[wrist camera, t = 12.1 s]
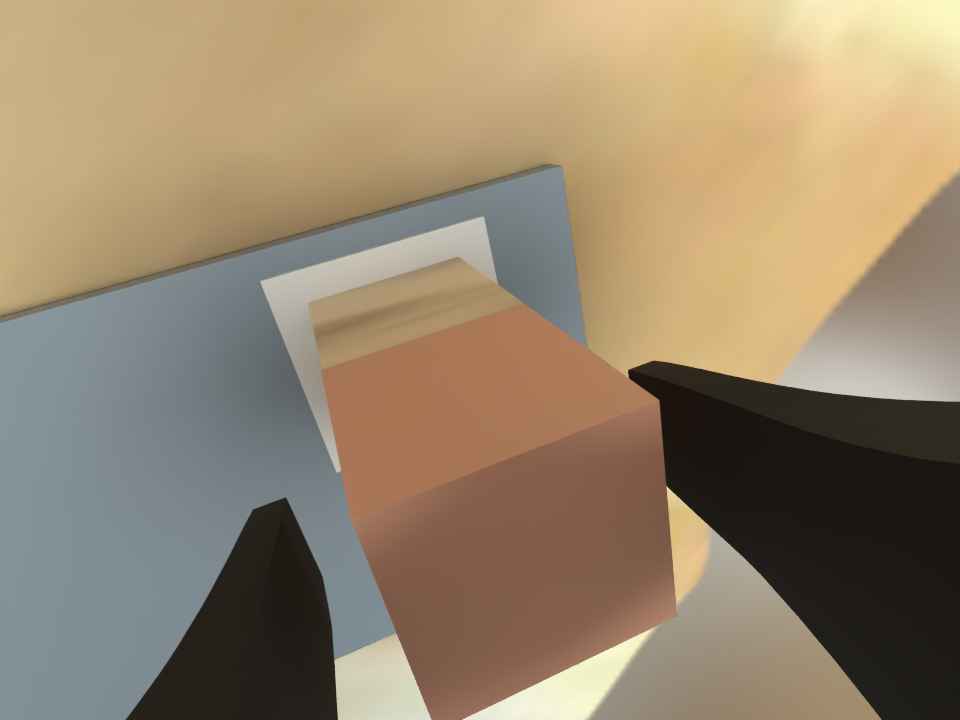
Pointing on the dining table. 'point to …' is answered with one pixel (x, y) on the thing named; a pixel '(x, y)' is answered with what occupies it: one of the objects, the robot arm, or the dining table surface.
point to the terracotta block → (503, 503)
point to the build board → (209, 435)
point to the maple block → (403, 309)
